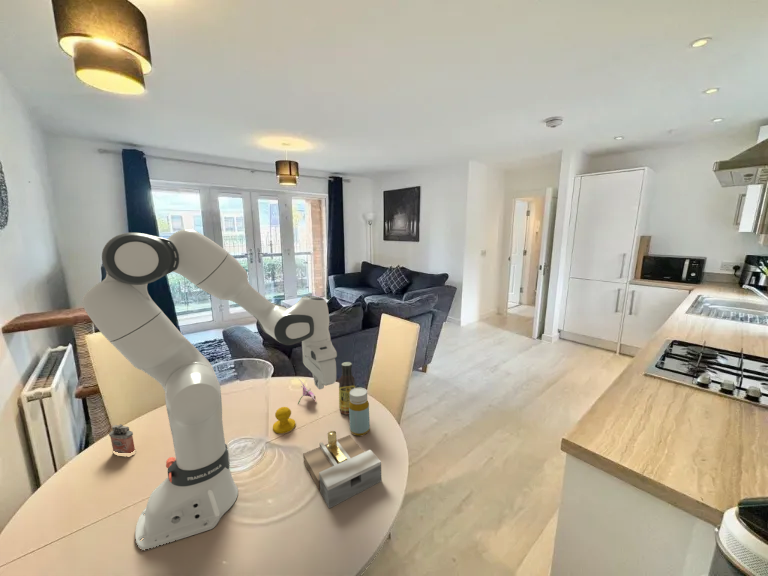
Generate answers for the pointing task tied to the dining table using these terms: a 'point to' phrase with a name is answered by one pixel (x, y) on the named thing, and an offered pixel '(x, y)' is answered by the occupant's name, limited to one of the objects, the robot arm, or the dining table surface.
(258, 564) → the dining table surface
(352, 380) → the sauce bottle
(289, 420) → the doorknob
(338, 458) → the bolt
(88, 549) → the dining table surface
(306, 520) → the dining table surface
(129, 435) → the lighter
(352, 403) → the bottle
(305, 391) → the lily
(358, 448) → the door latch block
